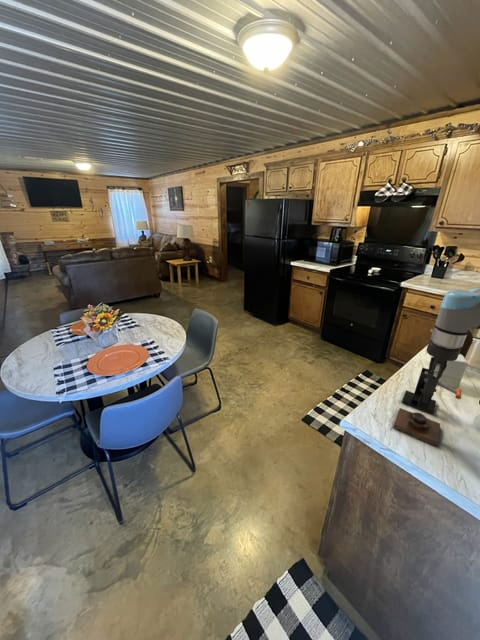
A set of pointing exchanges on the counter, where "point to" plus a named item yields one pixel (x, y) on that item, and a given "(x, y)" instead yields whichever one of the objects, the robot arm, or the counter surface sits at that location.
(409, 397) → the switch bracket
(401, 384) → the counter surface
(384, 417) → the counter surface
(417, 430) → the button block
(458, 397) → the switch
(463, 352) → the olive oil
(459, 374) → the white packaging box
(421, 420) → the button
